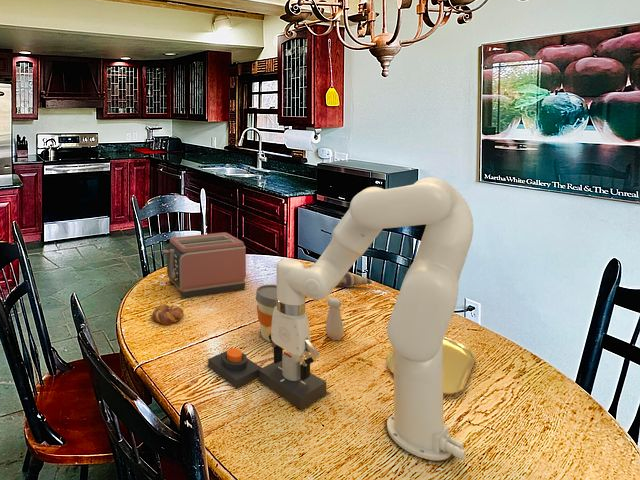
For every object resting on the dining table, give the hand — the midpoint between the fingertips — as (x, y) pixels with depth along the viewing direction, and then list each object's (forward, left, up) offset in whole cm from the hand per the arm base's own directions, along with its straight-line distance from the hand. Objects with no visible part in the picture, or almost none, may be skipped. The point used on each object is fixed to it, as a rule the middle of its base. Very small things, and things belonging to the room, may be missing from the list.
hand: (291, 369), depth 109 cm
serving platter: (-17, -43, -5) cm, 47 cm away
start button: (+14, +8, -1) cm, 16 cm away
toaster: (+66, -23, -5) cm, 70 cm away
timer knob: (0, 0, -2) cm, 2 cm away
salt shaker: (+8, -33, -5) cm, 34 cm away
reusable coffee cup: (+20, -17, -5) cm, 27 cm away
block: (+14, +8, -5) cm, 17 cm away
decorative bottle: (+32, -73, -5) cm, 80 cm away
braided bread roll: (+51, +6, -5) cm, 52 cm away
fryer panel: (0, 0, -5) cm, 5 cm away
